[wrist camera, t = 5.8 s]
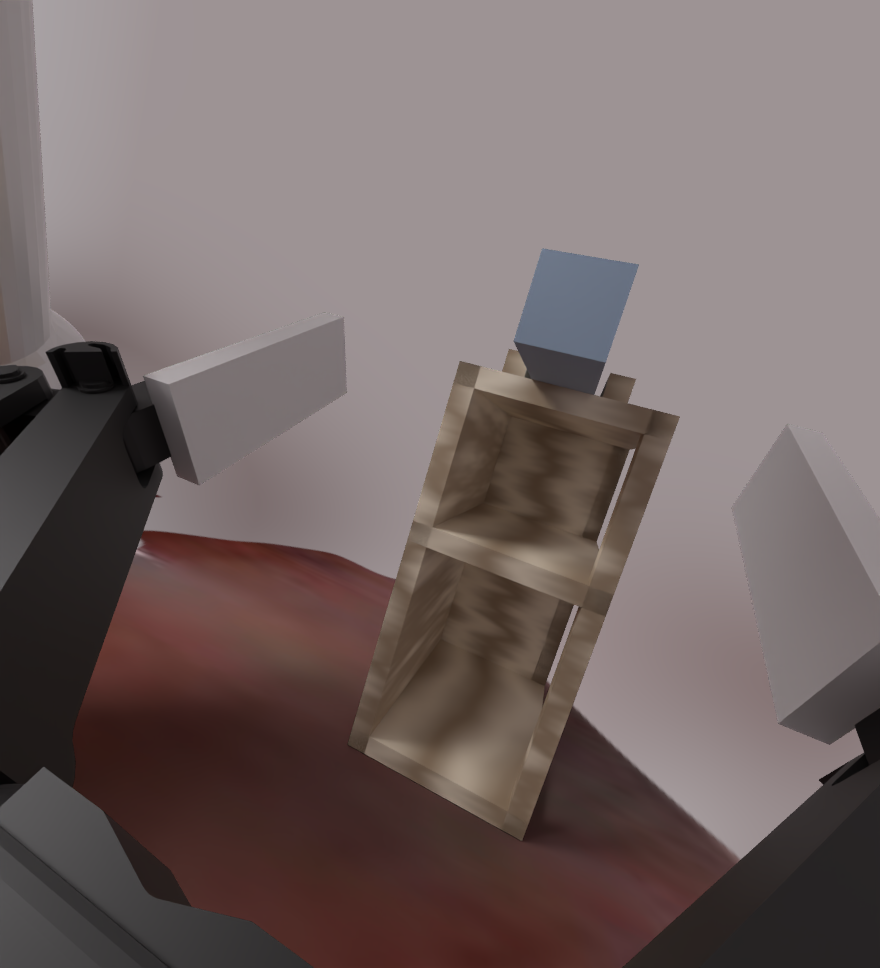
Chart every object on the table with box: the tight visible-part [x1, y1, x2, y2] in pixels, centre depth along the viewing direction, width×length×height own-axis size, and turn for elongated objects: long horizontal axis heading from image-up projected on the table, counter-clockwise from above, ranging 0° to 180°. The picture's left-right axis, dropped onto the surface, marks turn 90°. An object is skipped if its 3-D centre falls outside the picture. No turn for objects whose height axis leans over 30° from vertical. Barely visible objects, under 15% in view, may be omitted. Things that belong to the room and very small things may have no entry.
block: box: [514, 249, 639, 395], centre depth 30 cm, size 4×26×4 cm, turn 162°
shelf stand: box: [348, 349, 680, 841], centre depth 38 cm, size 14×20×32 cm
